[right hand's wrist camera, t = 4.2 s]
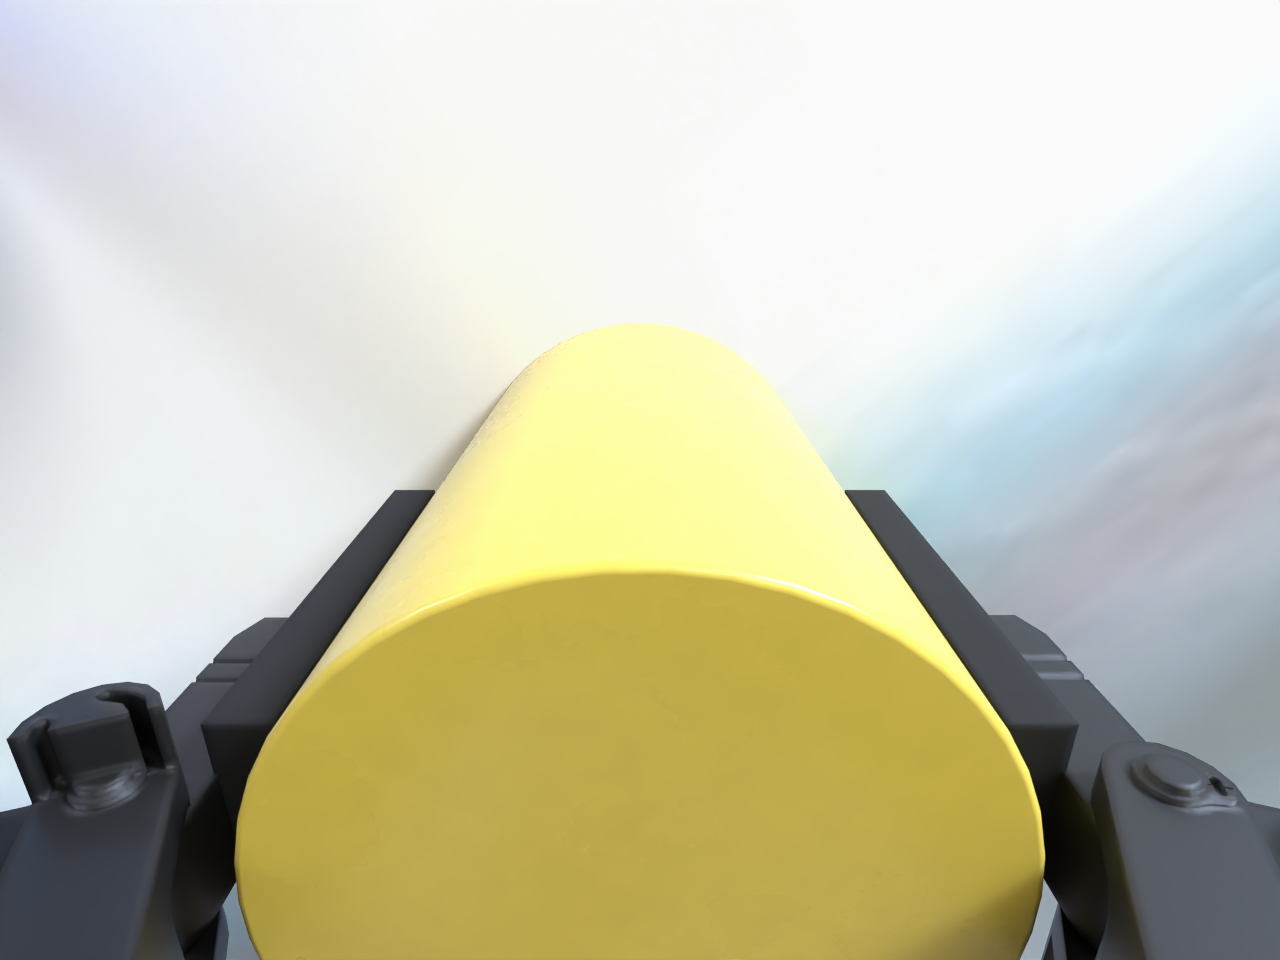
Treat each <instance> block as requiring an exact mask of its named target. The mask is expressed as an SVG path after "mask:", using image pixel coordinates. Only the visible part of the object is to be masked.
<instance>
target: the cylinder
mask: <svg viewBox="0 0 1280 960" xmlns="http://www.w3.org/2000/svg"><path fill="white" fill-rule="evenodd" d="M234 865H235V874H236V882H237V891H238V900H239V904H240V908H241V911H242V914H243V918H244V921H245V924H246V928H247V931H248V934H249V938H250V940H251V942H252V944H253V946H254V948H255V950H256V952H257V954H258V956H259V958H260V960H1020V958H1021V955H1022V953H1023V951H1024V949H1025V947H1026V944H1027V942H1028V940H1029V938H1030V936H1031V933H1032V930H1033V927H1034V923H1035V919H1036V915H1037V912H1038V908H1039V904H1040V901H1041V897H1042V888H1043V877H1044V865H1045V850H1044V840H1043V830H1042V820H1041V811H1040V807H1039V804H1038V800H1037V797H1036V793H1035V790H1034V786H1033V783H1032V780H1031V776H1030V773H1029V770H1028V768H1027V766H1026V764H1025V762H1024V760H1023V758H1022V756H1021V754H1020V752H1019V750H1018V748H1017V746H1016V744H1015V742H1014V740H1013V738H1012V736H1011V734H1010V732H1009V730H1008V729H1007V727H1006V726H1005V725H1004V723H1003V722H1002V720H1001V719H1000V717H999V716H998V714H997V713H996V712H995V710H994V709H993V707H992V706H991V704H990V703H989V701H988V700H987V699H986V697H985V696H984V694H983V693H982V691H981V690H980V688H979V687H978V685H977V684H976V683H975V681H974V680H973V678H972V677H971V675H970V674H969V672H968V671H967V670H966V668H965V667H964V665H963V664H962V662H961V661H960V659H959V658H958V657H957V655H956V654H955V652H954V651H953V649H952V648H951V646H950V645H949V644H948V642H947V641H946V639H945V638H944V636H943V635H942V633H941V632H940V630H939V629H938V628H937V626H936V625H935V623H934V622H933V620H932V619H931V617H930V616H929V615H928V613H927V612H926V610H925V609H924V607H923V606H922V604H921V603H920V602H919V600H918V599H917V597H916V596H915V594H914V593H913V591H912V590H911V589H910V587H909V586H908V584H907V583H906V581H905V580H904V578H903V577H902V575H901V574H900V573H899V571H898V570H897V568H896V567H895V565H894V564H893V562H892V561H891V560H890V558H889V557H888V555H887V554H886V552H885V551H884V549H883V548H882V547H881V545H880V544H879V542H878V541H877V539H876V538H875V536H874V535H873V533H872V532H871V531H870V529H869V528H868V526H867V525H866V523H865V522H864V520H863V519H862V518H861V516H860V515H859V513H858V512H857V510H856V509H855V507H854V506H853V505H852V503H851V502H850V500H849V499H848V497H847V496H846V494H845V493H844V492H843V490H842V489H841V487H840V486H839V484H838V483H837V481H836V480H835V478H834V477H833V476H832V474H831V473H830V471H829V470H828V468H827V467H826V465H825V464H824V463H823V461H822V460H821V458H820V457H819V455H818V454H817V452H816V451H815V450H814V448H813V447H812V445H811V444H810V442H809V441H808V439H807V438H806V436H805V435H804V434H803V432H802V431H801V429H800V428H799V426H798V425H797V423H796V422H795V421H794V419H793V418H792V416H791V415H790V413H789V412H788V410H787V409H786V408H785V406H784V405H783V403H782V402H781V400H780V399H779V397H778V396H777V395H776V393H775V392H774V391H773V389H772V388H771V387H770V385H769V384H768V382H767V381H766V380H765V379H764V378H763V377H762V376H761V375H760V374H759V373H758V372H757V371H756V370H755V369H754V368H753V367H752V366H751V365H750V364H749V363H748V362H746V361H745V360H744V359H742V358H741V357H740V356H739V355H737V354H736V353H735V352H733V351H731V350H730V349H728V348H726V347H724V346H723V345H721V344H719V343H718V342H716V341H714V340H711V339H709V338H706V337H704V336H702V335H699V334H697V333H694V332H690V331H687V330H683V329H679V328H675V327H670V326H662V325H654V324H625V325H618V326H611V327H604V328H600V329H597V330H593V331H590V332H586V333H583V334H580V335H578V336H576V337H573V338H571V339H569V340H566V341H564V342H562V343H560V344H558V345H557V346H555V347H553V348H552V349H550V350H549V351H547V352H545V353H544V354H542V355H541V356H540V357H538V358H537V359H536V360H535V361H534V362H532V363H531V364H530V365H529V366H527V367H526V368H525V369H524V370H523V371H522V372H521V373H520V375H519V376H518V377H517V378H516V379H515V380H514V381H513V382H512V383H511V384H510V386H509V387H508V389H507V390H506V392H505V393H504V394H503V396H502V397H501V399H500V400H499V402H498V403H497V404H496V406H495V407H494V409H493V410H492V412H491V413H490V415H489V416H488V417H487V419H486V420H485V422H484V423H483V425H482V426H481V428H480V429H479V431H478V432H477V433H476V435H475V436H474V438H473V439H472V441H471V442H470V444H469V445H468V446H467V448H466V449H465V451H464V452H463V454H462V455H461V457H460V458H459V459H458V461H457V462H456V464H455V465H454V467H453V468H452V470H451V471H450V473H449V474H448V475H447V477H446V478H445V480H444V481H443V483H442V484H441V486H440V487H439V488H438V490H437V491H436V493H435V494H434V496H433V497H432V499H431V500H430V501H429V503H428V504H427V506H426V507H425V509H424V510H423V512H422V513H421V515H420V516H419V517H418V519H417V520H416V522H415V523H414V525H413V526H412V528H411V529H410V530H409V532H408V533H407V535H406V536H405V538H404V539H403V541H402V542H401V543H400V545H399V546H398V548H397V549H396V551H395V552H394V554H393V555H392V557H391V558H390V559H389V561H388V562H387V564H386V565H385V567H384V568H383V570H382V571H381V572H380V574H379V575H378V577H377V578H376V580H375V581H374V583H373V584H372V585H371V587H370V588H369V590H368V591H367V593H366V594H365V596H364V597H363V599H362V600H361V601H360V603H359V604H358V606H357V607H356V609H355V610H354V612H353V613H352V614H351V616H350V617H349V619H348V620H347V622H346V623H345V625H344V626H343V627H342V629H341V630H340V632H339V633H338V635H337V636H336V638H335V639H334V641H333V642H332V643H331V645H330V646H329V648H328V649H327V651H326V652H325V654H324V655H323V656H322V658H321V659H320V661H319V662H318V664H317V665H316V667H315V668H314V669H313V671H312V672H311V674H310V675H309V677H308V678H307V680H306V681H305V683H304V684H303V685H302V687H301V688H300V690H299V691H298V693H297V694H296V696H295V697H294V698H293V700H292V701H291V703H290V704H289V706H288V707H287V709H286V710H285V711H284V713H283V714H282V716H281V717H280V719H279V720H278V722H277V723H276V724H275V726H274V727H273V729H272V730H271V732H270V733H269V735H268V736H267V738H266V740H265V742H264V744H263V746H262V748H261V751H260V753H259V755H258V757H257V759H256V761H255V763H254V765H253V768H252V770H251V772H250V774H249V776H248V780H247V783H246V787H245V791H244V795H243V799H242V803H241V806H240V810H239V814H238V819H237V831H236V846H235V860H234Z"/></svg>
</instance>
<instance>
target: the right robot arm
mask: <svg viewBox="0 0 1280 960" xmlns="http://www.w3.org/2000/svg"><path fill="white" fill-rule="evenodd" d="M434 494H435V490H395V491H394V492H393V493H392V494H391V496H390V497H389V498H388V499H387V500H386V502H385V503H384V504H383V505H382V506H381V508H380V509H379V510H378V511H377V512H376V514H375V515H374V516H373V517H372V518H371V520H370V521H369V522H368V523H367V525H366V526H365V527H364V528H363V529H362V531H361V532H360V533H359V534H358V535H357V537H356V538H355V539H354V540H353V541H352V543H351V544H350V545H349V546H348V547H347V549H346V550H345V551H344V552H343V553H342V555H341V556H340V557H339V558H338V559H337V561H336V562H335V563H334V564H333V565H332V567H331V568H330V569H329V570H328V571H327V573H326V574H325V575H324V576H323V577H322V579H321V580H320V581H319V582H318V583H317V585H316V586H315V587H314V588H313V589H312V591H311V592H310V593H309V594H308V595H307V597H306V598H305V599H304V600H303V601H302V603H301V604H300V605H299V606H298V607H297V609H296V610H295V611H294V612H293V613H292V615H291V616H290V617H289V618H264V619H262V620H260V621H259V622H257V623H255V624H254V625H252V626H251V627H249V628H247V629H246V630H244V631H242V632H241V633H239V634H238V635H236V636H234V637H233V638H232V639H231V641H230V642H229V643H228V644H227V645H226V646H225V647H224V648H223V649H222V650H221V651H220V652H219V654H218V655H217V656H216V657H215V658H214V659H213V660H214V661H213V663H209V664H208V665H207V667H206V668H205V669H204V670H203V671H202V672H201V673H200V674H199V675H198V676H197V677H196V682H192V683H191V684H190V685H189V686H188V687H187V688H186V689H185V690H184V692H183V693H182V694H181V695H180V696H179V697H178V698H177V699H176V700H175V701H174V702H173V703H172V705H171V706H170V707H169V708H168V709H167V710H166V711H165V710H164V706H163V703H162V700H161V696H160V693H159V692H158V691H156V690H155V689H153V688H152V687H151V686H149V685H147V684H140V683H132V682H123V683H114V684H105V685H100V686H96V687H93V688H90V689H86V690H83V691H79V692H76V693H73V694H71V695H68V696H66V697H64V698H62V699H60V700H58V701H55V702H53V703H51V704H49V705H47V706H45V707H43V708H42V709H40V710H39V711H38V712H36V713H35V714H33V715H32V716H30V717H29V718H27V719H26V720H24V721H23V722H22V723H21V724H20V725H19V726H18V727H17V728H16V729H15V731H14V732H13V733H12V734H11V735H10V736H9V737H8V739H7V742H8V744H9V747H10V749H11V752H12V754H13V757H14V759H15V762H16V764H17V767H18V769H19V772H20V774H21V777H22V779H23V782H24V784H25V787H26V789H27V792H28V794H29V797H30V799H31V802H32V805H30V806H26V807H22V808H17V809H13V810H8V811H4V812H0V960H226V955H227V946H228V937H229V932H228V926H227V919H226V915H225V912H224V909H223V903H224V901H225V900H226V898H227V896H228V895H229V893H230V891H231V889H232V888H233V886H234V884H235V883H236V874H235V865H234V860H235V846H236V831H237V819H238V814H239V810H240V806H241V803H242V799H243V795H244V791H245V787H246V783H247V780H248V776H249V774H250V772H251V770H252V768H253V765H254V763H255V761H256V759H257V757H258V755H259V753H260V751H261V748H262V746H263V744H264V742H265V740H266V738H267V736H268V735H269V733H270V732H271V730H272V729H273V727H274V726H275V724H276V723H277V722H278V720H279V719H280V717H281V716H282V714H283V713H284V711H285V710H286V709H287V707H288V706H289V704H290V703H291V701H292V700H293V698H294V697H295V696H296V694H297V693H298V691H299V690H300V688H301V687H302V685H303V684H304V683H305V681H306V680H307V678H308V677H309V675H310V674H311V672H312V671H313V669H314V668H315V667H316V665H317V664H318V662H319V661H320V659H321V658H322V656H323V655H324V654H325V652H326V651H327V649H328V648H329V646H330V645H331V643H332V642H333V641H334V639H335V638H336V636H337V635H338V633H339V632H340V630H341V629H342V627H343V626H344V625H345V623H346V622H347V620H348V619H349V617H350V616H351V614H352V613H353V612H354V610H355V609H356V607H357V606H358V604H359V603H360V601H361V600H362V599H363V597H364V596H365V594H366V593H367V591H368V590H369V588H370V587H371V585H372V584H373V583H374V581H375V580H376V578H377V577H378V575H379V574H380V572H381V571H382V570H383V568H384V567H385V565H386V564H387V562H388V561H389V559H390V558H391V557H392V555H393V554H394V552H395V551H396V549H397V548H398V546H399V545H400V543H401V542H402V541H403V539H404V538H405V536H406V535H407V533H408V532H409V530H410V529H411V528H412V526H413V525H414V523H415V522H416V520H417V519H418V517H419V516H420V515H421V513H422V512H423V510H424V509H425V507H426V506H427V504H428V503H429V501H430V500H431V499H432V497H433V496H434ZM845 494H846V496H847V497H848V499H849V500H850V502H851V503H852V505H853V506H854V507H855V509H856V510H857V512H858V513H859V515H860V516H861V518H862V519H863V520H864V522H865V523H866V525H867V526H868V528H869V529H870V531H871V532H872V533H873V535H874V536H875V538H876V539H877V541H878V542H879V544H880V545H881V547H882V548H883V549H884V551H885V552H886V554H887V555H888V557H889V558H890V560H891V561H892V562H893V564H894V565H895V567H896V568H897V570H898V571H899V573H900V574H901V575H902V577H903V578H904V580H905V581H906V583H907V584H908V586H909V587H910V589H911V590H912V591H913V593H914V594H915V596H916V597H917V599H918V600H919V602H920V603H921V604H922V606H923V607H924V609H925V610H926V612H927V613H928V615H929V616H930V617H931V619H932V620H933V622H934V623H935V625H936V626H937V628H938V629H939V630H940V632H941V633H942V635H943V636H944V638H945V639H946V641H947V642H948V644H949V645H950V646H951V648H952V649H953V651H954V652H955V654H956V655H957V657H958V658H959V659H960V661H961V662H962V664H963V665H964V667H965V668H966V670H967V671H968V672H969V674H970V675H971V677H972V678H973V680H974V681H975V683H976V684H977V685H978V687H979V688H980V690H981V691H982V693H983V694H984V696H985V697H986V699H987V700H988V701H989V703H990V704H991V706H992V707H993V709H994V710H995V712H996V713H997V714H998V716H999V717H1000V719H1001V720H1002V722H1003V723H1004V725H1005V726H1006V727H1007V729H1008V730H1009V732H1010V734H1011V736H1012V738H1013V740H1014V742H1015V744H1016V746H1017V748H1018V750H1019V752H1020V754H1021V756H1022V758H1023V760H1024V762H1025V764H1026V766H1027V768H1028V770H1029V773H1030V776H1031V780H1032V783H1033V786H1034V790H1035V793H1036V797H1037V800H1038V804H1039V807H1040V811H1041V820H1042V830H1043V840H1044V850H1045V865H1044V877H1043V878H1044V880H1045V881H1046V883H1047V885H1048V886H1049V888H1050V890H1051V891H1052V893H1053V895H1054V897H1055V898H1056V900H1057V902H1058V905H1057V909H1056V912H1055V915H1054V919H1053V922H1052V925H1051V929H1050V932H1049V936H1048V939H1047V942H1046V946H1045V949H1044V952H1043V956H1042V959H1041V960H1280V809H1278V808H1273V807H1269V806H1264V805H1260V804H1255V803H1251V802H1248V801H1247V800H1246V799H1245V797H1244V796H1243V795H1242V793H1241V792H1240V791H1239V789H1238V788H1237V787H1236V785H1235V784H1234V783H1233V782H1231V781H1230V780H1229V779H1228V778H1226V777H1225V776H1224V775H1223V774H1221V773H1220V772H1219V771H1218V770H1216V769H1215V768H1214V767H1213V766H1211V765H1209V764H1207V763H1205V762H1203V761H1201V760H1199V759H1197V758H1195V757H1194V756H1192V755H1190V754H1188V753H1186V752H1183V751H1180V750H1177V749H1174V748H1171V747H1168V746H1165V745H1162V744H1159V743H1151V742H1145V740H1144V739H1143V738H1142V737H1141V736H1140V735H1139V734H1138V733H1137V732H1136V731H1135V730H1134V729H1133V727H1132V726H1131V725H1130V724H1129V723H1128V722H1127V721H1126V720H1125V719H1124V718H1123V717H1122V716H1121V715H1120V713H1119V712H1118V711H1117V710H1116V709H1115V708H1114V707H1113V706H1112V705H1111V704H1110V703H1109V702H1108V701H1107V699H1106V698H1105V697H1104V696H1103V695H1102V694H1101V693H1100V692H1099V691H1098V690H1097V689H1096V688H1095V687H1094V685H1093V684H1092V683H1091V682H1090V681H1089V680H1085V679H1084V675H1083V674H1082V672H1081V671H1080V670H1079V669H1078V668H1077V667H1076V666H1075V665H1074V664H1073V663H1072V662H1071V661H1067V656H1066V655H1065V654H1064V653H1063V652H1062V651H1061V650H1060V649H1059V648H1058V647H1057V646H1056V644H1055V643H1054V642H1053V641H1052V640H1051V639H1050V638H1049V637H1048V636H1047V635H1046V634H1045V633H1043V632H1042V631H1040V630H1038V629H1037V628H1035V627H1033V626H1032V625H1030V624H1028V623H1027V622H1025V621H1024V620H1022V619H1020V618H1019V617H1017V616H1015V615H988V614H987V613H986V612H985V610H984V609H983V608H982V607H981V606H980V604H979V603H978V602H977V601H976V600H975V598H974V597H973V596H972V595H971V594H970V592H969V591H968V590H967V589H966V588H965V586H964V585H963V584H962V583H961V582H960V580H959V579H958V578H957V577H956V576H955V574H954V573H953V572H952V571H951V570H950V568H949V567H948V566H947V565H946V564H945V562H944V561H943V560H942V559H941V558H940V556H939V555H938V554H937V553H936V552H935V550H934V549H933V548H932V547H931V546H930V544H929V543H928V542H927V541H926V540H925V538H924V537H923V536H922V535H921V533H920V532H919V531H918V530H917V529H916V527H915V526H914V525H913V524H912V523H911V521H910V520H909V519H908V518H907V517H906V515H905V514H904V513H903V512H902V511H901V509H900V508H899V507H898V506H897V505H896V503H895V502H894V501H893V500H892V499H891V497H890V496H889V495H888V494H887V493H886V491H885V490H845Z"/></svg>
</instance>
